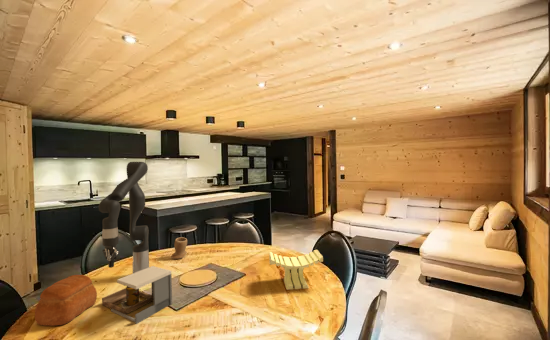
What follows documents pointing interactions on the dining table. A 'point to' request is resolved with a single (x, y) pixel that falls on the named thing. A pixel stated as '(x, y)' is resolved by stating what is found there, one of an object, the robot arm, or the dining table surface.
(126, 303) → the condiment
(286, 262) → the slatted curved stool
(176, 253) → the brown boot
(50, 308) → the bread
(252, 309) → the dining table surface
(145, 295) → the tray
